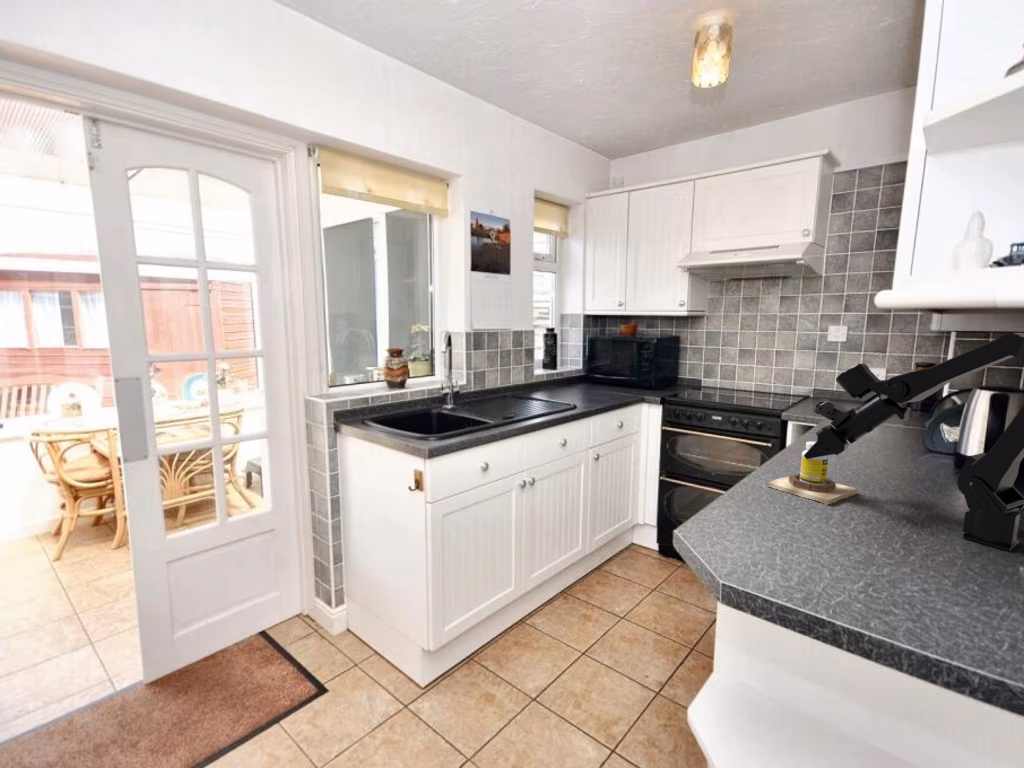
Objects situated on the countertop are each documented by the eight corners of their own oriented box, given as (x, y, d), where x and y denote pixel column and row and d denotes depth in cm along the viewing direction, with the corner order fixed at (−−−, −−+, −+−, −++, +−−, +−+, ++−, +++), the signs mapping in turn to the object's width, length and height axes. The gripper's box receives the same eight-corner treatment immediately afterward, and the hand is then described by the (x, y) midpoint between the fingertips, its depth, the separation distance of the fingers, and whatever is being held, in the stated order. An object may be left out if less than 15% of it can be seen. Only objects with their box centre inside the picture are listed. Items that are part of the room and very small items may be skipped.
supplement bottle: (824, 488, 114) (828, 447, 113) (798, 483, 117) (801, 443, 116) (826, 482, 118) (830, 442, 117) (801, 478, 122) (804, 439, 120)
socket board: (856, 493, 116) (858, 482, 116) (828, 505, 109) (829, 493, 108) (796, 477, 128) (797, 467, 128) (766, 487, 120) (767, 476, 120)
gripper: (849, 384, 119) (795, 423, 128) (830, 392, 106) (771, 434, 115) (886, 421, 114) (827, 458, 123) (871, 433, 101) (807, 474, 110)
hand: (808, 455), depth 118 cm, fingers closed on supplement bottle, 5 cm apart
